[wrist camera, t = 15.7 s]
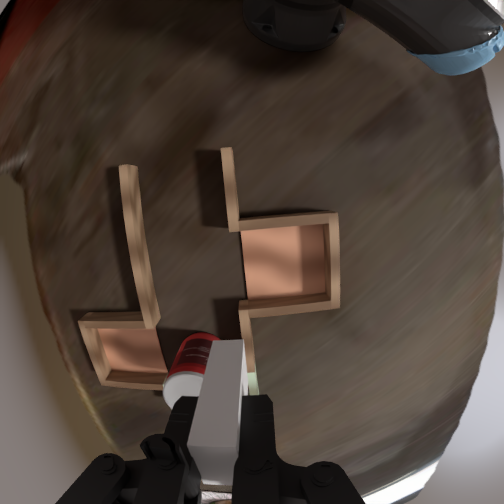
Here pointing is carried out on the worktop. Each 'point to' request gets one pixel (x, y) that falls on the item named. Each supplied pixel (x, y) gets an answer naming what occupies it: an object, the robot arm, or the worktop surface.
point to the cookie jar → (215, 497)
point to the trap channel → (258, 304)
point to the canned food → (188, 368)
